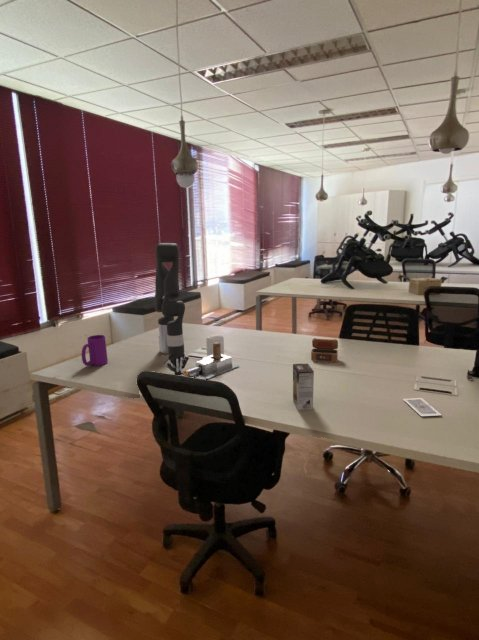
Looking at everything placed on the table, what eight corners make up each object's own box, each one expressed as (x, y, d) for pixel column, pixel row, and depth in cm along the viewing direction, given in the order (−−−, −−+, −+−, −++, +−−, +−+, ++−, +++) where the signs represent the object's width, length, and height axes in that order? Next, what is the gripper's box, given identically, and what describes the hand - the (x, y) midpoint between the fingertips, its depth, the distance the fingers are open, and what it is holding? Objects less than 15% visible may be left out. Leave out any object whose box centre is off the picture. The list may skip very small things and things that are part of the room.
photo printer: (221, 353, 224) (220, 332, 222) (225, 354, 221) (224, 334, 218) (205, 356, 219) (204, 335, 216) (209, 358, 215) (208, 337, 213)
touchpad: (421, 418, 143) (421, 413, 143) (402, 401, 158) (402, 396, 157) (441, 417, 144) (442, 412, 143) (421, 400, 158) (421, 395, 158)
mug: (111, 361, 215) (108, 335, 212) (90, 371, 201) (87, 343, 198) (98, 359, 219) (95, 334, 215) (77, 369, 205) (74, 341, 201)
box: (294, 367, 200) (294, 345, 197) (301, 350, 226) (302, 331, 223) (350, 371, 191) (351, 348, 189) (352, 354, 217) (352, 333, 215)
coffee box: (292, 400, 160) (292, 363, 157) (307, 399, 161) (308, 362, 157) (297, 410, 151) (297, 371, 148) (313, 409, 152) (314, 370, 148)
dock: (179, 372, 195) (178, 362, 194) (215, 359, 213) (214, 350, 212) (203, 381, 183) (202, 371, 182) (239, 366, 201) (238, 357, 200)
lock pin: (183, 375, 188) (182, 370, 187) (203, 368, 197) (203, 363, 196) (187, 377, 186) (186, 371, 185) (207, 369, 195) (207, 364, 194)
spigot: (212, 365, 202) (211, 343, 199) (217, 363, 205) (216, 342, 202) (217, 367, 199) (216, 344, 197) (222, 365, 202) (222, 343, 199)
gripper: (182, 338, 187) (184, 372, 191) (159, 345, 178) (161, 380, 182) (192, 341, 182) (194, 376, 186) (169, 348, 173) (171, 384, 177)
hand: (178, 378), depth 184 cm, fingers closed
